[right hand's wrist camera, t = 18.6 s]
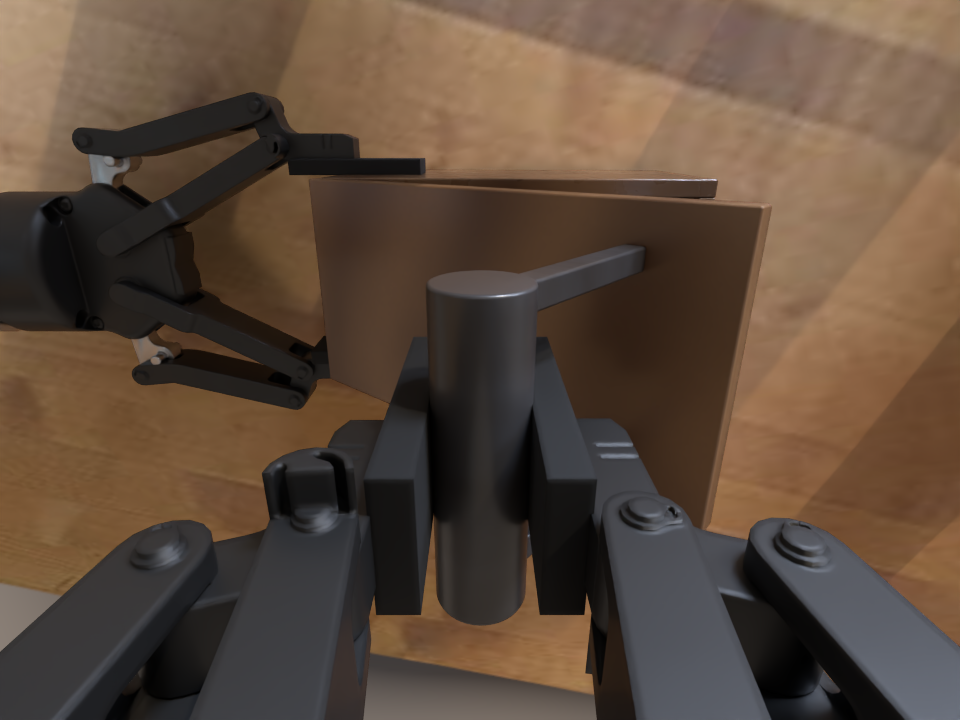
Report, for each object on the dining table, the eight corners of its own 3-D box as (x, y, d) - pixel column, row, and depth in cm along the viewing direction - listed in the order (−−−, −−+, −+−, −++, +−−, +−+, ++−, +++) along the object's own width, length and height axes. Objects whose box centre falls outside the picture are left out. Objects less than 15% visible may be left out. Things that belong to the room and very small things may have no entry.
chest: (656, 170, 33) (718, 179, 23) (639, 318, 36) (687, 380, 26) (374, 169, 33) (320, 177, 24) (384, 314, 37) (340, 372, 27)
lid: (773, 203, 13) (610, 250, 7) (710, 523, 16) (566, 740, 10) (324, 177, 24) (109, 187, 18) (344, 373, 27) (169, 437, 21)
